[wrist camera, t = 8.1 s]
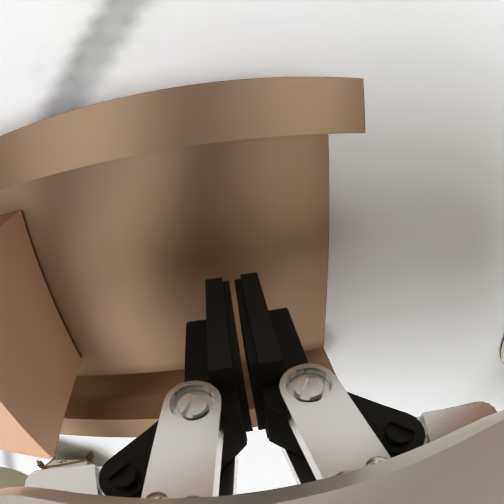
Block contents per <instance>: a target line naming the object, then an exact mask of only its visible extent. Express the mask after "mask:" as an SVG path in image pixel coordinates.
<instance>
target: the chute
mask: <svg viewBox="0 0 504 504" xmlns="http://www.w3.org/2000/svg"><path fill="white" fill-rule="evenodd" d="M334 133H365V107H364V85H363V79H360V78H341V77H276V78H256V79H242V80H230V81H220V82H211V83H203V84H195V85H188V86H181V87H175V88H168V89H163V90H157V91H152V92H146V93H141V94H136V95H132V96H127V97H123V98H118V99H114V100H110V101H106V102H102V103H98V104H94V105H90V106H87V107H83V108H80V109H76V110H73V111H69V112H66V113H63V114H60V115H57V116H53V117H50V118H47V119H44V120H42V121H39V122H36V123H33V124H30V125H28V126H25V127H22V128H20V129H17V130H14V131H12V132H9V133H7V134H4V135H2V136H0V216H2V215H6V214H9V213H13V212H17V211H20V210H21V212H22V216H23V219H24V223H25V226H26V229H27V232H28V235H29V238H30V242H31V245H32V247H33V250H34V253H35V256H36V259H37V262H38V264H39V267H40V270H41V272H42V275H43V277H44V280H45V282H46V285H47V287H48V290H49V292H50V295H51V297H52V299H53V302H54V304H55V306H56V308H57V311H58V313H59V315H60V317H61V319H62V322H63V324H64V326H65V328H66V330H67V332H68V334H69V336H70V338H71V340H72V342H73V344H74V346H75V348H76V350H77V352H78V354H79V356H80V357H81V359H82V361H81V364H80V367H79V370H78V373H77V376H76V379H75V382H74V385H73V389H72V392H71V395H70V398H69V402H68V405H67V409H66V412H65V416H64V420H63V423H62V427H61V431H60V434H65V435H78V436H96V437H138V436H140V435H141V434H142V433H143V432H145V431H146V430H147V429H148V428H150V427H151V426H152V425H153V424H154V423H156V422H157V421H158V420H159V418H160V413H161V409H162V406H163V402H164V399H165V397H166V395H167V393H168V392H169V391H170V390H171V389H172V388H174V387H175V386H177V385H178V384H181V383H184V372H185V343H186V324H187V322H189V321H197V320H205V319H206V295H205V279H212V278H219V277H222V280H223V281H229V284H230V291H231V297H232V304H233V311H234V317H235V324H236V330H237V337H238V343H239V349H240V356H241V362H242V368H243V375H244V381H245V387H246V393H247V399H248V405H249V411H250V417H251V423H252V427H257V426H258V424H257V418H256V413H255V407H254V402H253V396H252V391H251V385H250V380H249V374H248V368H247V363H246V357H245V351H244V345H243V338H242V331H241V324H240V317H239V310H238V303H237V296H236V289H235V281H234V280H237V279H241V278H240V275H241V274H248V273H255V272H257V274H258V277H259V281H260V284H261V287H262V291H263V294H264V297H265V301H266V304H267V307H268V310H274V309H280V308H288V311H289V313H290V316H291V318H292V321H293V323H294V326H295V329H296V331H297V334H298V336H299V339H300V342H301V344H302V347H303V350H304V352H305V355H306V358H307V360H308V363H309V364H318V365H322V366H324V367H326V368H328V369H330V370H331V371H332V372H333V373H334V374H335V372H334V370H333V368H332V366H331V363H330V361H329V359H328V357H327V355H326V352H325V350H324V348H323V343H324V329H325V314H326V297H327V277H328V248H329V148H328V134H334ZM335 375H336V374H335ZM336 377H337V376H336Z"/></svg>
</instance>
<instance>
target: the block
mask: <svg viewBox="0 0 504 504" xmlns="http://www.w3.org/2000/svg"><path fill="white" fill-rule="evenodd" d="M81 361H82V359H81V357H80V356H79V354H78V352H77V350H76V348H75V346H74V344H73V342H72V340H71V338H70V336H69V334H68V332H67V330H66V328H65V326H64V324H63V322H62V319H61V317H60V315H59V313H58V311H57V308H56V306H55V304H54V302H53V299H52V297H51V295H50V292H49V290H48V287H47V285H46V282H45V280H44V277H43V275H42V272H41V270H40V267H39V264H38V262H37V259H36V256H35V253H34V250H33V247H32V245H31V242H30V238H29V235H28V232H27V229H26V226H25V223H24V219H23V216H22V212H21V210H20V211H17V212H13V213H9V214H6V215H2V216H0V449H1V450H6V451H10V452H15V453H19V454H24V455H30V456H35V457H41V458H47V459H54V455H55V451H56V447H57V443H58V439H59V435H60V431H61V427H62V423H63V420H64V416H65V412H66V409H67V405H68V402H69V398H70V395H71V392H72V389H73V385H74V382H75V379H76V376H77V373H78V370H79V367H80V364H81Z"/></svg>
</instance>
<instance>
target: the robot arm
mask: <svg viewBox="0 0 504 504" xmlns="http://www.w3.org/2000/svg"><path fill="white" fill-rule="evenodd" d="M240 278H241V279H237V280H234V281H235V289H236V296H237V303H238V310H239V317H240V324H241V331H242V338H243V345H244V351H245V357H246V363H247V368H248V374H249V380H250V385H251V391H252V396H253V402H254V407H255V413H256V418H257V424H258V429H259V430H261V429H266V433H267V438H269V441H271V442H273V443H275V444H277V445H278V446H280V447H282V450H283V453H284V456H285V458H286V460H287V462H288V465H289V467H290V469H291V471H292V474H293V476H294V478H295V480H296V482H297V484H298V485H294V486H289V487H284V488H278V489H272V490H266V491H259V492H252V493H245V494H236V490H237V469H238V456H237V454H238V453H239V452H240V451H241V450H242V449H243V448H244V447H245V446H246V445H247V442H246V441H247V436H246V432H248V431H253V429H252V423H251V417H250V411H249V405H248V399H247V393H246V387H245V381H244V375H243V368H242V362H241V356H240V349H239V343H238V337H237V330H236V324H235V317H234V311H233V304H232V297H231V291H230V284H229V281H223V280H222V277H219V278H212V279H205V295H206V319H205V320H197V321H189V322H187V324H186V343H185V372H184V383H181V384H178V385H177V386H175V387H174V388H172V389H171V390H170V391H169V392H168V393H167V395H166V397H165V399H164V402H163V406H162V409H161V413H160V418H159V420H158V421H157V422H156V423H154V424H153V425H152V426H151V427H150V428H148V429H147V430H146V431H145V432H143V433H142V434H141V435H140V436H138V437H137V438H136V439H135V440H133V441H132V442H131V443H130V444H128V445H127V446H126V447H125V448H123V449H122V450H121V451H119V452H118V453H117V454H116V455H114V456H113V457H112V458H110V459H109V460H108V461H107V462H106V463H105V464H104V465H103V466H99V467H97V466H96V465H95V464H90V465H83V466H74V467H65V468H54V469H41V470H37V471H34V472H33V473H31V474H30V475H29V476H28V478H27V479H26V482H25V487H11V488H3V489H0V504H504V410H503V411H499V412H497V411H496V410H495V408H494V407H493V406H491V405H490V404H489V403H485V402H473V403H469V404H465V405H461V406H456V407H451V408H446V409H441V410H436V411H431V412H425V413H422V415H421V416H420V417H414V416H412V415H410V414H408V413H405V412H402V411H399V410H396V409H393V408H390V407H387V406H384V405H381V404H378V403H376V402H373V401H370V400H367V399H365V398H362V397H359V396H357V395H354V394H351V393H349V392H346V390H345V389H344V387H343V386H342V384H341V383H340V381H339V380H338V378H337V377H336V375H335V374H334V373H333V372H332V371H331V370H330V369H328V368H326V367H324V366H322V365H318V364H309V363H308V360H307V358H306V355H305V352H304V350H303V347H302V344H301V342H300V339H299V336H298V334H297V331H296V329H295V326H294V323H293V321H292V318H291V316H290V313H289V311H288V308H280V309H274V310H268V307H267V304H266V301H265V297H264V294H263V291H262V287H261V284H260V281H259V277H258V274H257V272H255V273H248V274H241V275H240ZM501 359H502V361H503V362H504V341H503V344H502V348H501Z"/></svg>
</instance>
